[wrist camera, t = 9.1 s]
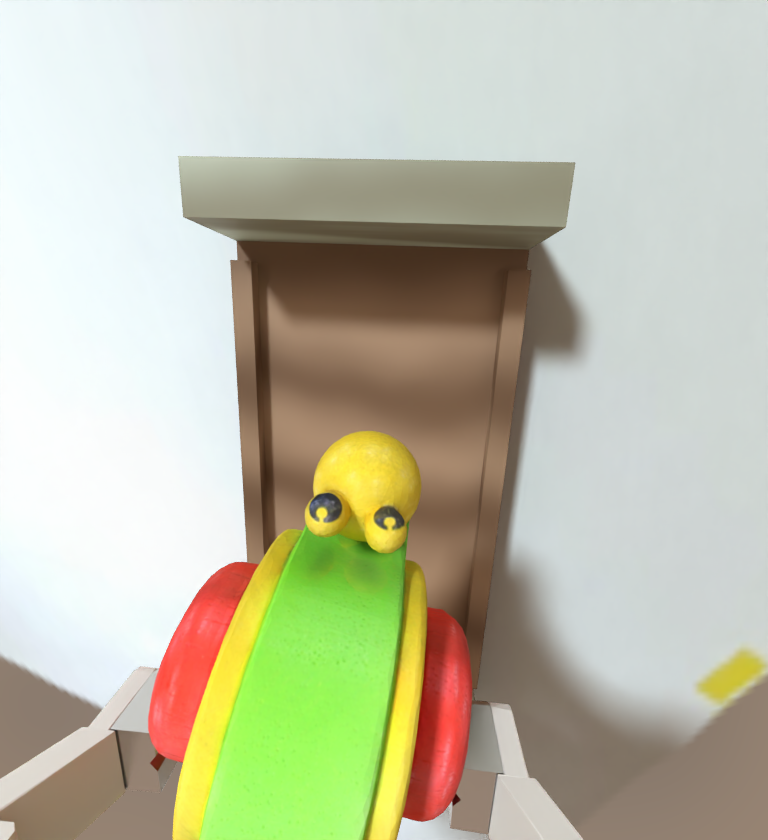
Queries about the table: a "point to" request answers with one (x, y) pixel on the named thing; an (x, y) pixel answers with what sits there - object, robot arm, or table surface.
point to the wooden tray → (382, 335)
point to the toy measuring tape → (319, 673)
